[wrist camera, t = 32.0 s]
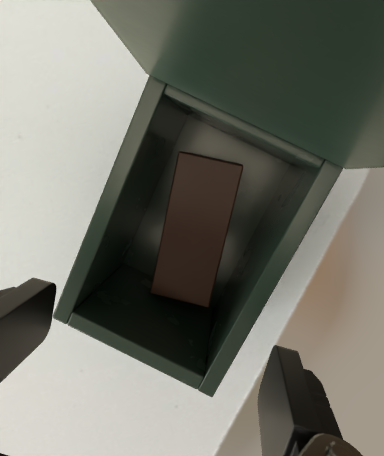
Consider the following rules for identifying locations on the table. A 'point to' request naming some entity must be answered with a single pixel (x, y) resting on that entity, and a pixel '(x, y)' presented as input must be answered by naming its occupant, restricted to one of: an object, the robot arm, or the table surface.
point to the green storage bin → (153, 226)
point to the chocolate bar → (195, 227)
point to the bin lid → (271, 65)
